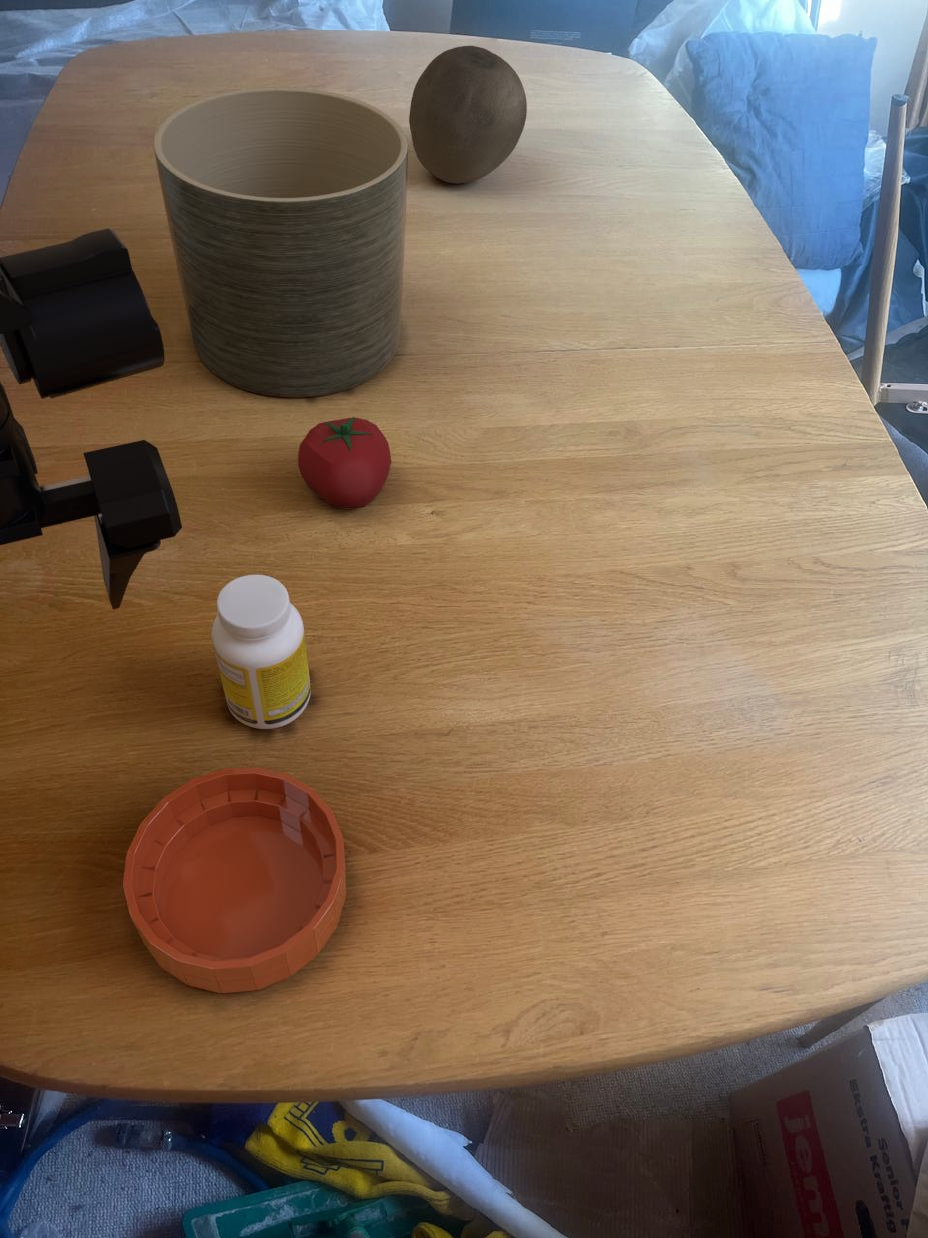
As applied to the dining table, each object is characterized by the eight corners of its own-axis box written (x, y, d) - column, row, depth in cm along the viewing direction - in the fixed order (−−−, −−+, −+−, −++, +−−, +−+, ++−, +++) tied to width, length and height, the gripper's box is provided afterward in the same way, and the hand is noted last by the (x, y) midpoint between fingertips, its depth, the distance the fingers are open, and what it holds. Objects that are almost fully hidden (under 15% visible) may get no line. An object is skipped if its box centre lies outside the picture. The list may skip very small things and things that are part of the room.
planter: (442, 365, 99) (453, 170, 83) (239, 427, 90) (210, 223, 75) (345, 260, 110) (340, 72, 95) (158, 306, 102) (117, 108, 86)
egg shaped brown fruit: (454, 214, 119) (462, 85, 107) (386, 168, 125) (387, 41, 114) (538, 186, 125) (555, 61, 113) (470, 143, 131) (479, 20, 120)
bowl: (165, 1031, 56) (151, 1005, 52) (119, 841, 63) (104, 807, 60) (375, 945, 60) (375, 916, 56) (309, 776, 67) (305, 741, 64)
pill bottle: (315, 665, 73) (306, 567, 65) (306, 734, 69) (295, 639, 61) (233, 661, 73) (214, 562, 64) (219, 730, 69) (196, 634, 61)
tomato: (287, 481, 86) (280, 417, 80) (361, 449, 89) (360, 385, 84) (335, 534, 82) (332, 471, 77) (411, 499, 86) (413, 435, 80)
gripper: (112, 294, 53) (161, 500, 65) (-275, 359, 47) (-142, 572, 59) (157, 415, 47) (203, 618, 59) (-281, 506, 41) (-132, 711, 53)
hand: (36, 624), depth 58 cm, fingers open, 9 cm apart
